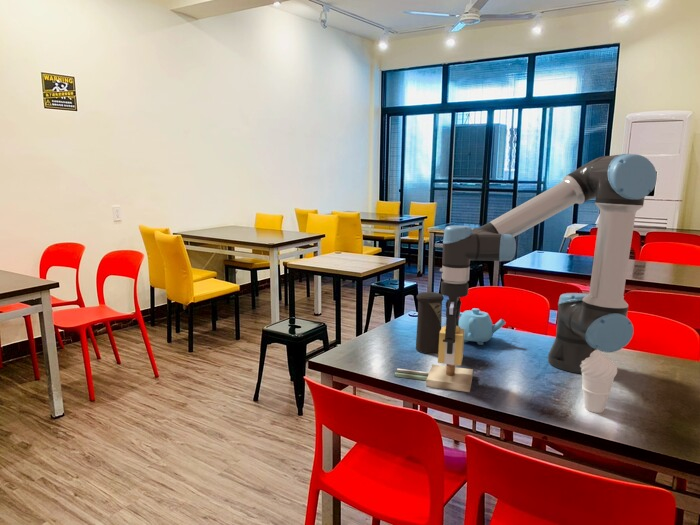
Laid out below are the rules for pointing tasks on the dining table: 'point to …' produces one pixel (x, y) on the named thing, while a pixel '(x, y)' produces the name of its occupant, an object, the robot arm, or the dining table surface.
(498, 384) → the dining table surface
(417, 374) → the block
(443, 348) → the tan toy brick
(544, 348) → the dining table surface
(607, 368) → the soft serve ice cream cone
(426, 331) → the container
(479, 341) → the teapot
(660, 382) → the dining table surface
